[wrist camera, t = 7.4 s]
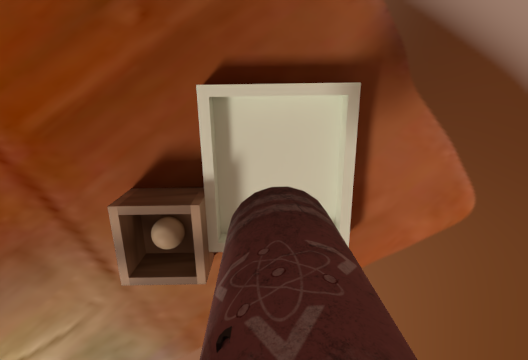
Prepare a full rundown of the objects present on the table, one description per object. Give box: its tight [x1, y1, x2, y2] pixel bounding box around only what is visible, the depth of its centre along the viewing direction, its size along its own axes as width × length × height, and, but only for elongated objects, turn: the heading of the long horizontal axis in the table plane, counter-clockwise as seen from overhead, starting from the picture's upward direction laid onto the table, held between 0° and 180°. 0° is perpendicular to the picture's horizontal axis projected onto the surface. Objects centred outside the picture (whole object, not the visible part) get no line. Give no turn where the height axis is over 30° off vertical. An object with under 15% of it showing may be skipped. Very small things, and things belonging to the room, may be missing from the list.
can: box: [200, 186, 417, 360], centre depth 11 cm, size 6×6×14 cm
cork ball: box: [151, 217, 185, 249], centre depth 30 cm, size 3×3×3 cm
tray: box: [196, 82, 361, 252], centre depth 29 cm, size 16×14×3 cm
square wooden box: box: [108, 187, 214, 285], centre depth 30 cm, size 8×8×5 cm
